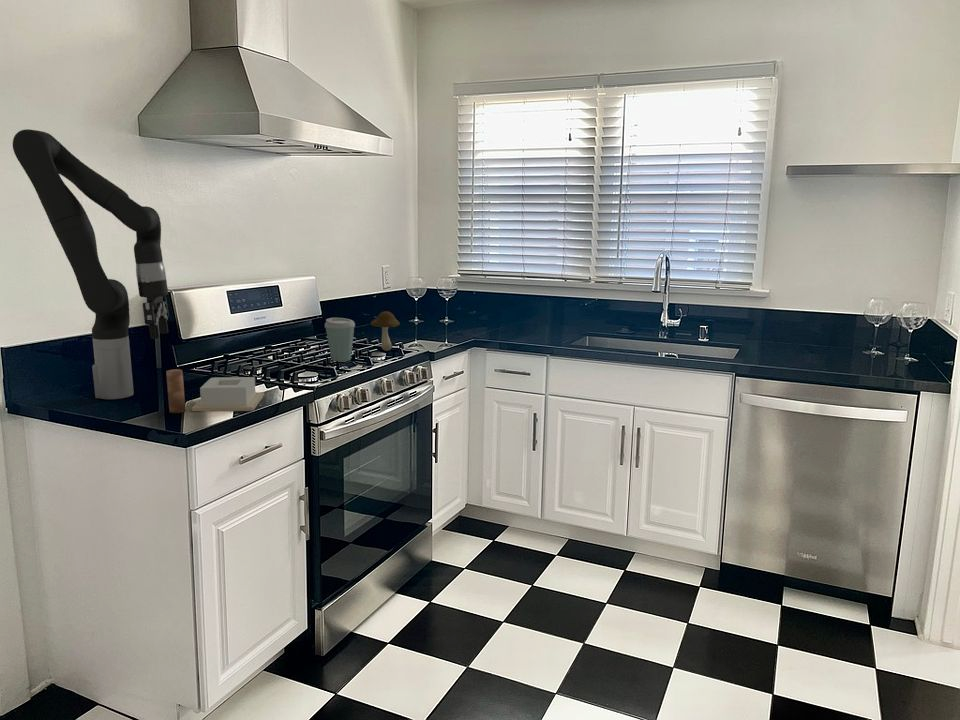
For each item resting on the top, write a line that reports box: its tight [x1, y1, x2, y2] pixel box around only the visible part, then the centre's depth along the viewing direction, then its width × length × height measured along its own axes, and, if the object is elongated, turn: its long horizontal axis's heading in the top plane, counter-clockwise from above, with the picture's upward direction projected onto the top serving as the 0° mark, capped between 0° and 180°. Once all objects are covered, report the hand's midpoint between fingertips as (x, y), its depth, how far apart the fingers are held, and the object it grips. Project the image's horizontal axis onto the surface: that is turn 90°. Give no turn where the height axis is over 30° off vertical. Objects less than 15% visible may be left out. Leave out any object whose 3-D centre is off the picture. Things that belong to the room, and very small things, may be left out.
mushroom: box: [370, 310, 401, 352], centre depth 282 cm, size 9×11×15 cm
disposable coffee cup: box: [324, 317, 356, 363], centre depth 263 cm, size 11×11×15 cm
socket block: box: [191, 376, 265, 412], centre depth 209 cm, size 16×16×6 cm
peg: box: [166, 368, 186, 414], centre depth 201 cm, size 4×4×11 cm
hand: (159, 336), depth 214 cm, fingers open, 8 cm apart
